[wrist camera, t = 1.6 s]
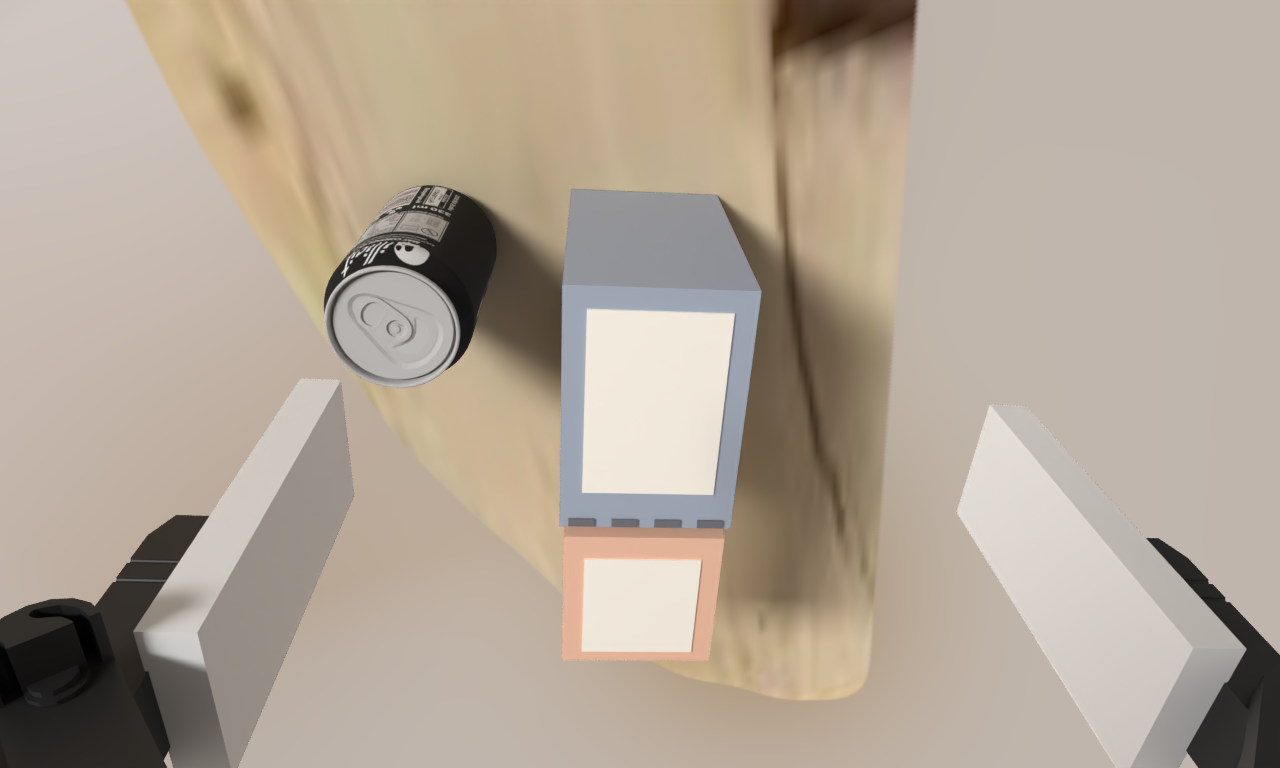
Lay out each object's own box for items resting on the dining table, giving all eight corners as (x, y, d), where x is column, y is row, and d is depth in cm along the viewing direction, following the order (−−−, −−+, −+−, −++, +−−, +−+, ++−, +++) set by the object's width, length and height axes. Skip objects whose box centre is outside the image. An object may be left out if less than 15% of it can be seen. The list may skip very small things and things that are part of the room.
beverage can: (456, 315, 48) (417, 422, 38) (356, 249, 46) (285, 343, 36) (521, 229, 46) (499, 317, 36) (418, 156, 44) (363, 226, 33)
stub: (564, 523, 40) (563, 538, 39) (721, 525, 40) (724, 540, 39) (562, 645, 44) (561, 661, 43) (706, 645, 44) (708, 661, 43)
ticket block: (571, 189, 45) (562, 285, 33) (717, 195, 46) (762, 292, 33) (568, 383, 51) (559, 528, 38) (697, 386, 51) (730, 530, 39)
